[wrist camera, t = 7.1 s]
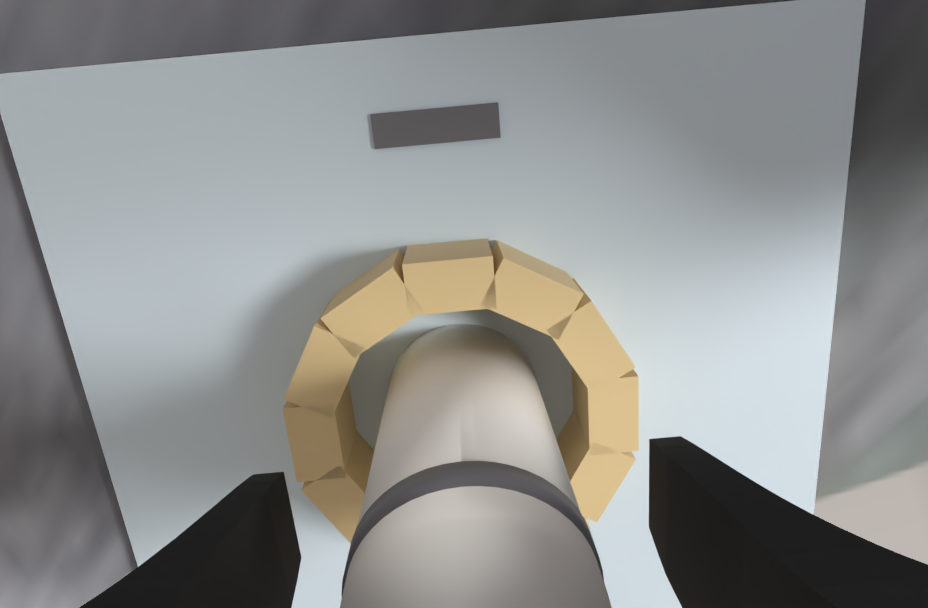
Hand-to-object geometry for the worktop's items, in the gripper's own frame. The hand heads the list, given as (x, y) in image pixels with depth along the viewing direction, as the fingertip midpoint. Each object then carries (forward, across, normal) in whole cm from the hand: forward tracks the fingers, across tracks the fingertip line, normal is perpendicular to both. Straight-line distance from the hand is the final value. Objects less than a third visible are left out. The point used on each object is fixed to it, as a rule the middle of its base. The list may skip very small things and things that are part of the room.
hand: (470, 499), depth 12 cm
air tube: (+5, 0, 0) cm, 5 cm away
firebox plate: (+5, 0, 0) cm, 5 cm away
